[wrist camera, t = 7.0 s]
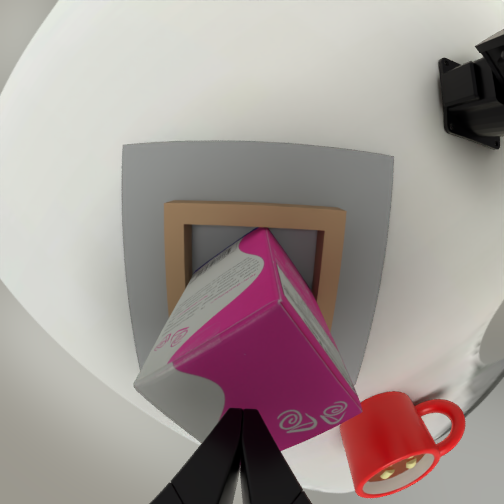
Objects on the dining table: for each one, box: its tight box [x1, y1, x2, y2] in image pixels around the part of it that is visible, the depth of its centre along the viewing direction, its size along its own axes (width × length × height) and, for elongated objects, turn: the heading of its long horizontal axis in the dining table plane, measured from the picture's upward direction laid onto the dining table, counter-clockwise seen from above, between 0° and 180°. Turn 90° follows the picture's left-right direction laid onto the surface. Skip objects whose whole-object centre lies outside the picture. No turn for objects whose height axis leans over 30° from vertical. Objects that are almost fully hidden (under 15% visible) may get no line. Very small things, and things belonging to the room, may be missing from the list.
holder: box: [122, 141, 394, 385], centre depth 18 cm, size 18×18×3 cm
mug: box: [340, 391, 465, 498], centre depth 19 cm, size 8×12×8 cm, turn 112°
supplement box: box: [134, 227, 363, 451], centre depth 13 cm, size 6×6×12 cm
